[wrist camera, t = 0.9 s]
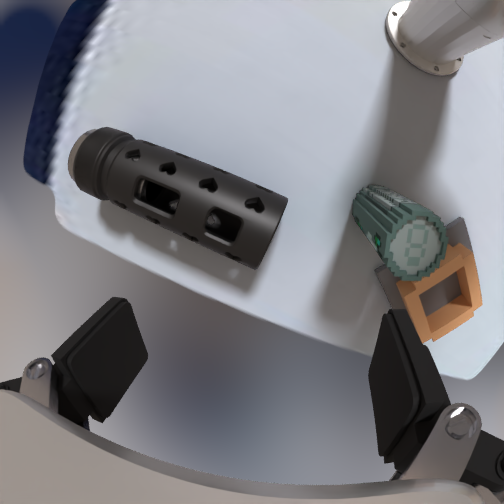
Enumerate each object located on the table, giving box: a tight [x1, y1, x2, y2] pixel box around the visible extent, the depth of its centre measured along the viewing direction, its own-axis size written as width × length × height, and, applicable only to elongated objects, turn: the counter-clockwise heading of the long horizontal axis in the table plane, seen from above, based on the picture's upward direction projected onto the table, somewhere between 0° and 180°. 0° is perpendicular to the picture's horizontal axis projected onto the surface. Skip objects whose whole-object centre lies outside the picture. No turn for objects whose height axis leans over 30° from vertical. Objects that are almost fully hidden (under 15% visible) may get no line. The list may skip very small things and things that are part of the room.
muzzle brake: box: [68, 127, 288, 270], centre depth 32 cm, size 10×28×10 cm, turn 67°
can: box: [352, 185, 449, 281], centre depth 26 cm, size 6×6×15 cm
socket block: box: [375, 217, 482, 343], centre depth 32 cm, size 16×16×5 cm
